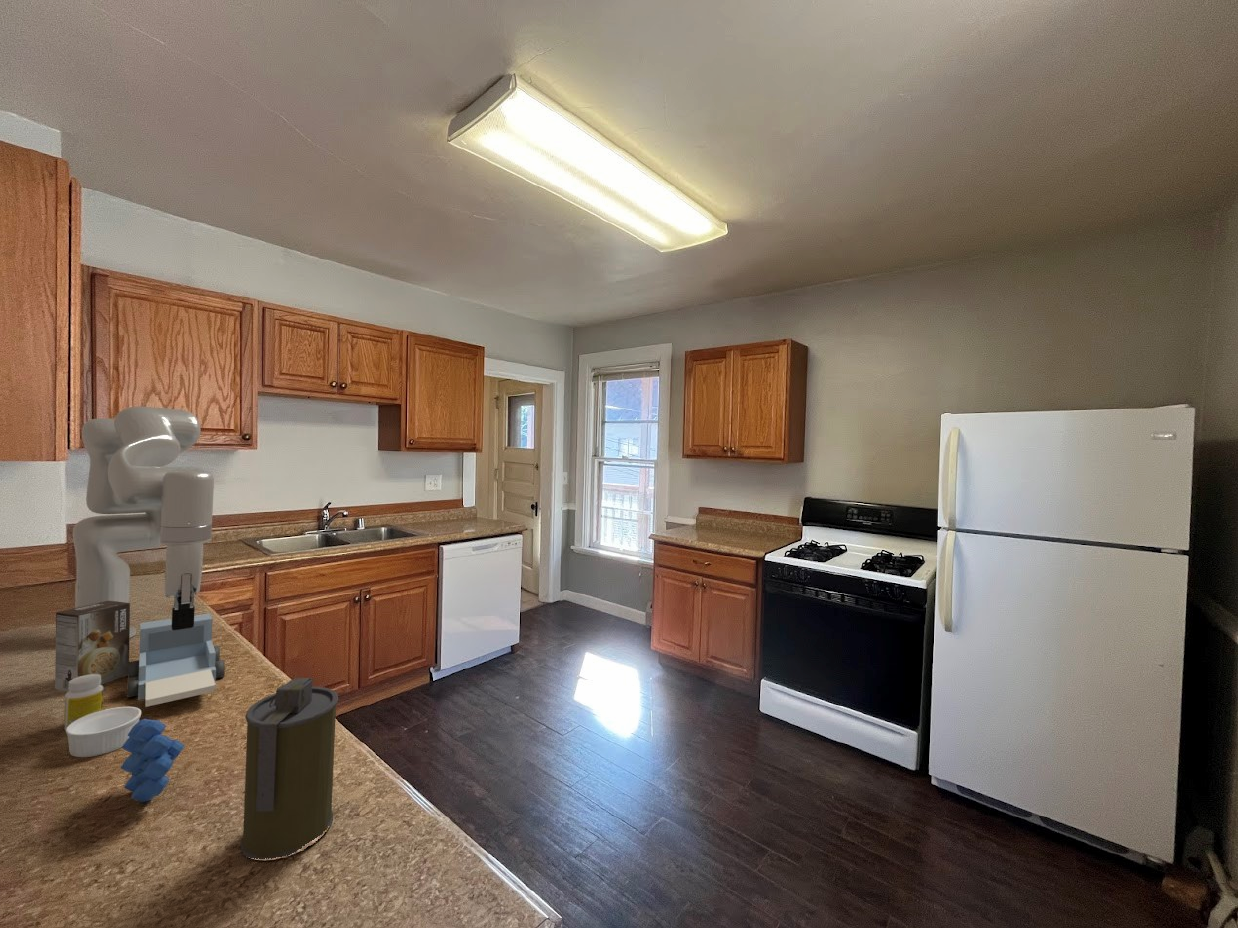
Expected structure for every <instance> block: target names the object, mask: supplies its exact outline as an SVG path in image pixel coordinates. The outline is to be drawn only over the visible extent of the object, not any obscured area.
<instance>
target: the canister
mask: <svg viewBox="0 0 1238 928" xmlns="http://www.w3.org/2000/svg"><path fill="white" fill-rule="evenodd" d="M313 681H314V678H313V677H294V678H293V679H291V680H289V681H287V683H285V684H281V685H280V686H279V687H277V689H276V692H275V693H273V694H270V695H268V696H265V697H263V698H261V699H260V700H258V701H256V702H254V703H253V704H252V705H251V706H250V707H249V708H248V709H247V711H246V713H245V720H246V722H247V723H246V724H247V725H246V751H245V776H244V777H245V778H244V779H245V781H244V803H243V805H244V807H243V809H244V810H243V828H242V829H243V830H242V831H243V833H242V834H243V835H242V839H241V842H240V850H241V853H242V852H243V853H242V854H243V855H244V854H245V855H246V856H247V857H250V858H254V859H255V858H256V859H258V858H259V859H265V858H266V859H267V858H268V859H269V858H271V859H272V858H276V857H282V856H286V855H287V856H288V855H290V854H292V853H294V852H296V851H297V850H298V849H301V848H302V846H305V844H307V843H309V842H310V841H312V840H314V839H315V838H317V837H318V836H320V835H322V834H323V831H325V830H327V828H328V826H332V824H333V822H334V811H333V809H332V808H333V786H334V783H333V782H334V767H335V766H334V764H335V763H334V761H335V760H334V759H335V740H336V739H335V738H336V718H337V716H336V715H337V703H338V702H339V695H338V693H337V692H336V691H335V690H334V689H330V688H327V687H325V686H313ZM332 821H333V822H332ZM245 855H244V856H245ZM247 857H246V858H247Z"/></svg>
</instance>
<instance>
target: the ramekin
mask: <svg viewBox="0 0 1238 928" xmlns="http://www.w3.org/2000/svg"><path fill="white" fill-rule="evenodd" d="M141 715H142V710H141V709H140V708H139V707H137V706H118V707H117V706H116V707H111V708H106V709H103V710H101V711H98V712H94V713H91V714H88V715H86V716H84V717H81V718H79V719H77V720H75V721H74V722H72V723H71V724H70V725H69V726H68V727H67V728H66V730H65V734H66V735H67V741H68V742H67V743H68V751H69V754H70V755H71V756H73V757H75V758H91V757H97V756H101V755H105V754H109V753H111V752H114V751H117V750H118V749H122V746H123V745H124V743H125V742H126V740H127V739H128V738H129V736H128V733H129V732H130V730H131V729H132V728H133V726H134V725H135V724H137V723H138V722H139V721H140V718H141Z"/></svg>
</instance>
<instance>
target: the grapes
mask: <svg viewBox="0 0 1238 928" xmlns="http://www.w3.org/2000/svg"><path fill="white" fill-rule="evenodd" d="M166 727H167V725H166V724H165V723H164V722H162V721H160V720H157V719H156V720H155V719H147V718H142V719H139V722H138V723H137V724H135V725H134V726H133V728H132V729H131V730H130V732H129V733H128V736H129V738H128V739H127V740H126V742H125V743H124V745H123V746H122V747H121V749H123V750H124V751H126V752H128V753H131V754H130V755H129V756H127V757H126V759H125V760H124V761H123V763H122V765H121V766H120V769H121V770H123V771H124V772H126V773H131V774H130V775H131V776H130V777H129V779H128V780H127V782H126V783H125V785H124V786H123V788H124V789H126V790H128V791H129V792H132V795H131V798H132V799H133V800H135V801H137V802H140V803H147V802H150V801H152V799H153V798H154V797H157V796H159V795H160V794H161V793H162V792H163V791H164V790H165V788H166V787H167V785H168V783H169V782H170V779H171V778H169V777H168V776H167V774H168V773H169V771H170V770H171V768H172V766H173V764H174V763H175V761H174V760H176V759H177V757H179V755H180V754H181V753H182V751H183V749H184V747H185V746H186V745H185V744H184V743H182V742H181V741H179V740H175V739H172V738H170V737H169V736H167V735H165V734H164V735H163V734H162V733H163V732H164V731H165V729H166Z"/></svg>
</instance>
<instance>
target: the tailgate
mask: <svg viewBox="0 0 1238 928" xmlns="http://www.w3.org/2000/svg"><path fill="white" fill-rule="evenodd" d="M144 688H145V708H147V707H151V706H156V705H160V704H164V703H169V702H173V701H179V700H183V699H187V698H192V697H196V696H200V695H203V694H204V695H205V694H208V693H209V694H210V693H213V692H216V689H217V687H216V683H215V681H214V678H213V675H212V669H209V670H204V671H199V672H194V673H189V674H184V675H179V676H174V677H170V678H165V679H160V680H155V681H150V682H146V683H144Z"/></svg>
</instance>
